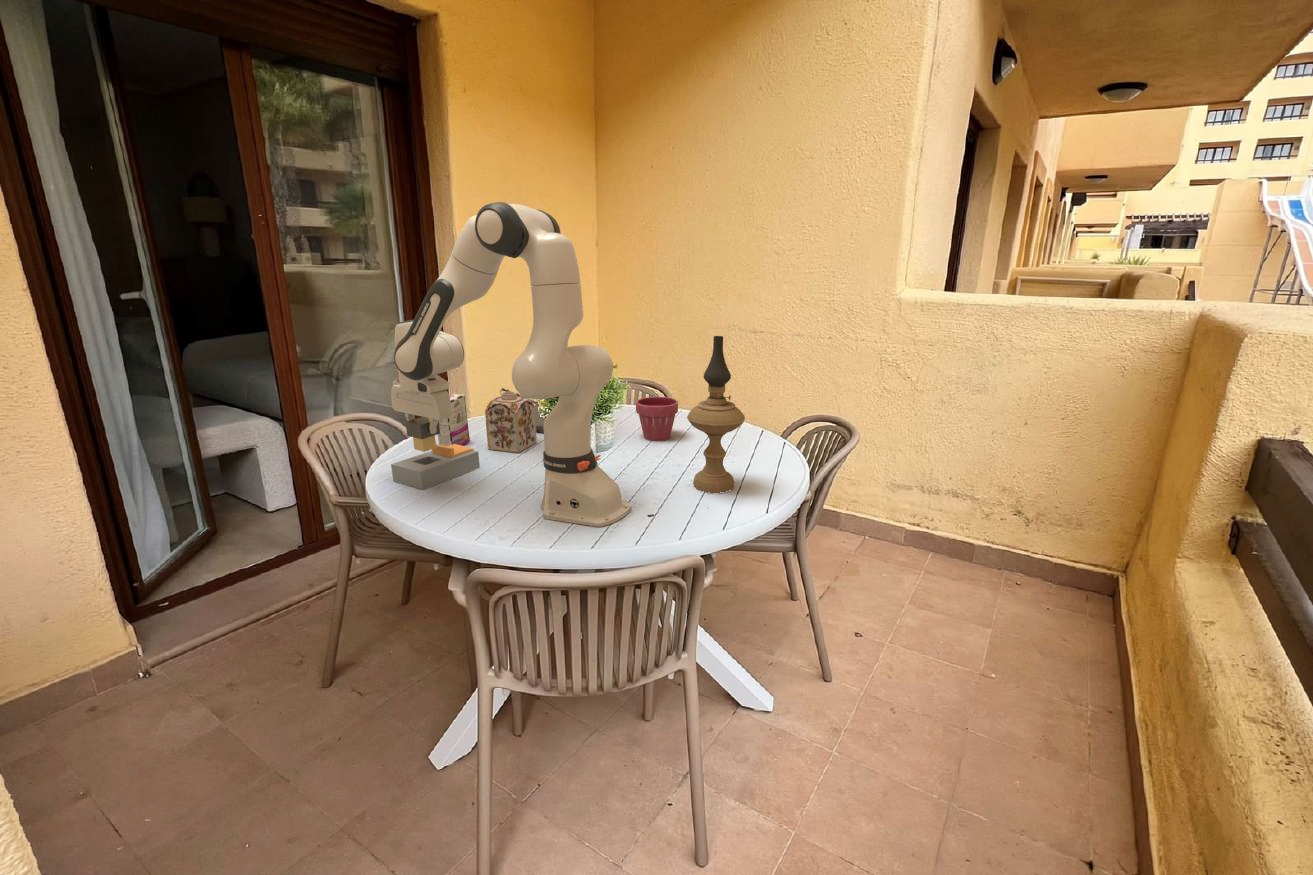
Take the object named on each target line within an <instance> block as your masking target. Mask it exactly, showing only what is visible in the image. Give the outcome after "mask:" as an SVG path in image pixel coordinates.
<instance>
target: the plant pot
mask: <svg viewBox="0 0 1313 875" xmlns="http://www.w3.org/2000/svg"><path fill="white" fill-rule="evenodd" d="M635 412H636V414H637V415H638V418H639V421H640V426H641V430H642V434H643V435H642V436H643V438H644V439H645V440H648V441H651V440H652V441H654V442H655V441H656V442H658V441H659V442H660V441H666V440H669V439H670V438H671V435H672V430H673V426H674V421H675V419H676V418H675V417H676V414H678V412H679V401H678V400H677V399H675V398H672V397H668V396H667V397H666V396H649V397H647V396H646V397H643V398H642V397H641V398H639V399H637V400H636V401H635Z"/></svg>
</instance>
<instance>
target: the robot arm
mask: <svg viewBox="0 0 1313 875" xmlns="http://www.w3.org/2000/svg"><path fill="white" fill-rule="evenodd" d="M505 257H509V258H511V259H517V258H521V259H522V260H524V261H525V264H527V267H528V271H529V279H530V282H529V283H530V291H531V300H532V315H533V318H532V320H533V321H532V329H531V334H530V337H529V339H528V343H527V345H526V346H525V348H524V350H523V351H522V353H521V354H520V355H519V356H518V357H517V358H516V359H515V360H514V363H513V365H512V369H511V381H512V384H513V386H514V389H515V390H516V391H517V392H518V394H519V395H521V396H523V397H525V398H528V399H531V400H533V399H534V400H537V399H549V398H552V399H553V398H557V397H559V398H558V400H557V403H556V404H555V405H554V406H555V407H554V409H553V410H552V411H551V412H550V413H549V414H548V415H547V416H546V418H545V420H544V424H543V428H544V432H543V440H544V441H543V442H544V450H543V452H542V455H543V456H542V457H543V459H542V462H543V467H544V468H545V475H544V488H543V490H544V491H543V496H542V501H541V504H540V508H541V510H542V511H543V512H542V517H543V519H546V520H554V521H560V522H566V523H571V524H577V525H578V524H579V525H584V526H590V527H596V528H600V527H604V526H608V525H611V524H614V523H616V522H618V521H619V520H621V519H622V518H624V517H625V516H627V515H628V514H629V513H630V511H631V510H632V503H631V502H628V501H626V500H624V499H622V492H621V489H620V486H619V484H618V483H617V482H616V481H615V480H614V479H612V477H610V476H609V475H608V474H607V473H606V472H605V471H604V470H603V469H602V468H601V467H600V466H599V464H598V461H599V460H601V459H602V458H601V454H599V455H596V456H595V453H594V451H593V449H592V442H591V441H592V438H591V437H592V436H591V435H592V432H591V431H592V417H593V411H594V410H595V409H594V408H595V406H596V402H597V401H598V398H599V396H600V393H601V392H602V390H603V389H604V388H605V386H607V385H608V383H609V382H610V380H611V379H612V376H613V374H614V373H613V372H614V365H613V364H614V363H613V359H612V357H611V355H610V354H609V352H608V351H607V350H606V349H605V348H603V347H601V346H596V345H589V344H578V345H572V346H568V344H569V339H570V337H571V334H572V332H573V331H574V329H576V328H577V327H579V325H580V324H581V323H582V321H583V318H584V307H583V306H584V305H583V296H582V294H583V293H582V286H581V285H582V284H581V277H580V275H581V274H580V269H579V262H578V259H577V256H576V251H575V248H574V245H573V242H572V240H571V239H570V238H569V237H568V236H566V235H564V234H562V233H561V228H560V225H559V223H558V221H557V220H556V219H555V218H554V217H553V215H551V214H549V213H547V212H546V211H544V210H542V209H535V208H532V207H529V206H526V205H524V204H518V203H506V202H504V201H497V202H490V203H487V204H485V205H484V206H482V207H481V208H480V209H479V210H478V212H477V214H475V215H472V216H470V217H469V218H468V219H467V221H466V222H465V224H464V226H463V227H462V229H461V231H460V232H459V235H458V236H457V239H456V241H455V243H454V245H453V248H452V251H451V253H450V257H449V259H448V260H447V263H446V265H445V267H444V269H443V270H442V272H441V274H440V275H439V277H437V279H436V280H435V281H434V283H433V284H432V285H431V287H430V288H429V289H428V291H427V292H426V295H425V297H424V298H423V300H422V303H421V304H420V307H419V309H418V310H417V313H416V314H415V317H414V319H409V320H404V321H403V320H402V321H399V322H398V323H397V324H396V325H395V328H394V347H395V348H394V349H395V350H394V353H393V361H394V363H395V364H394V365H395V366H396V368H397V371H398V377H395V378H394V379H393V381H392V384H391V385H392V387H391V391H390V397H391V408H392V409H393V411H394V412H398V413H404V417H405V419H406V421H409V420H413V419H416V418H415V416H416V417H417V416H418V417H420V418H421V417H426V418H429V422H430V426H429V427H427V429H428V433H431V434H434V433H436V432H437V429H436V426H437V424H438V421H439V420H440V421H441V420H445V419H448V418H450V416H451V401H450V396H449V395H450V393H449V392H448V390H449V388H450V386H449V385H450V384H449V382H448V381H447V380H446V379H445V378H442V377H441V376H440V375H439V374H442V373H445V372H448V371H452V370H455V369H456V368H460V366H461V365H462V363H463V362H464V358H465V349H464V346H463V344H462V341H460V339H459V338H458V337H457V336H456V335H454V334H451V333H447V332H444V331H442V328H443V326H444V324H445V322H446V320H447V319H448V317H450V316H451V314H453V313H454V312H455V311H457V310H458V309H460V308H462V307H464V306H465V305H467V304H468V305H469V303H470V304H471V303H472V302H474V301H477V300H479V299H481V298H483V297H484V296H486V294H487V293H488V292H489V291H490V289H491V288H492V286H493V284H494V283H495V279H496V277H497V275H498V273H499V270H500V266H501V265H502V261H503V260H504V258H505Z"/></svg>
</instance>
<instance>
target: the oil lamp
mask: <svg viewBox="0 0 1313 875" xmlns="http://www.w3.org/2000/svg"><path fill="white" fill-rule="evenodd" d="M731 379H732V374H731V373H730V370H729V368H728V364H727V363H726V360H725V355H724V336H722V335H714V336H713V348H712V355H711V358H710V361H709V363H708V366H707V368H706V369H705V371H704V372H703V380H704V381H705V382H706V383H707V384H708V388H707V389H708V391H707V392H708V393H709V396H707V398H706V400H702V401H700V402H698V403H697V405H696V406H694V407H693V408H691V409H690V410H689V412H688V414H687V417H686V419H687V420H688V422H689V423H690V424H691V425H692V427H693V428H695V429H697V430H698V431H701V432H702V433H704V434H706V435H707V437H708V440H709V442H708V445H707V446H706V448H705V449H704V450H703V453H702V454H703V456H704V458H705V465H704V467H703V468H702V469H701V470H700V471H698V472H697V473H695V475H694V477H693V482H692V483H693V484H692V486H693V485H694V486H693V488H694V487H695V488H696V489H695V488H694V489H695V490H697V491H698V490H701V491H704V492H703V493H705V492H710V493H709V494H714V493H719V494H721V493H720V492H726V491H729V490H731V491H732V490H734V489H733V488H735V479H734V476H733V475H732V474H731V473H730V472H728V471H727V470H726V468H725V466H724V459H725V457H726V455H727V452H726V450H725V449H724V447H723V446H722V441H721V440H722V439H723V437H724V436H725V435H726V434H727V433H731V432H734V431H735V430H736V429H739V428H740V427H741V425H742V424H744V421H745V419H746V417H745V414H744V413H743V412H742V411H741V409H740V408H738V407H736V404H735V403H733V402H732V401H730V400H731V399H732V396H731V395H728V396H725V395H724V394H725V393H726V384H728V382H730V380H731ZM727 399H728V400H727ZM701 491H700V492H701ZM729 492H730V491H729ZM726 493H727V492H726Z"/></svg>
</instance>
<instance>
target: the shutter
mask: <svg viewBox="0 0 1313 875" xmlns="http://www.w3.org/2000/svg"><path fill="white" fill-rule="evenodd" d="M472 450H474V451H475V449H474V447H470V446H466V445H464V446H461V445H457V444H453V445H450V446H443V445H439V443H436V448H434V449H431V451H432V453H434V454H438V455H442V456H447V457H451V458H452V457H455V456H458V455H461V454H464V453H467V452H470V451H472Z"/></svg>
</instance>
